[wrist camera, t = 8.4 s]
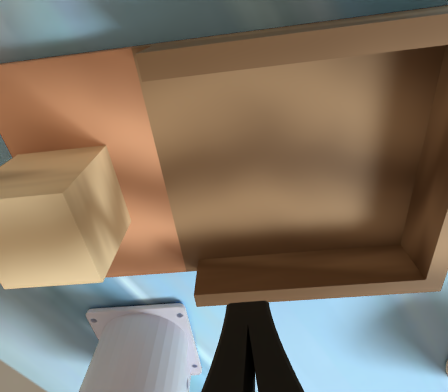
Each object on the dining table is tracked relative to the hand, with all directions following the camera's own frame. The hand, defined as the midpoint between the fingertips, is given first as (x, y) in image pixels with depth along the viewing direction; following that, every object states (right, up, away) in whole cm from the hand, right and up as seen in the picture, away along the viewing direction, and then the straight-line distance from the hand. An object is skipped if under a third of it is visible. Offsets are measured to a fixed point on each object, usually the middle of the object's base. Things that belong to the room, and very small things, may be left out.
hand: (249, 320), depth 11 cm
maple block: (-9, +5, +7) cm, 13 cm away
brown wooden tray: (-1, +6, +7) cm, 10 cm away
